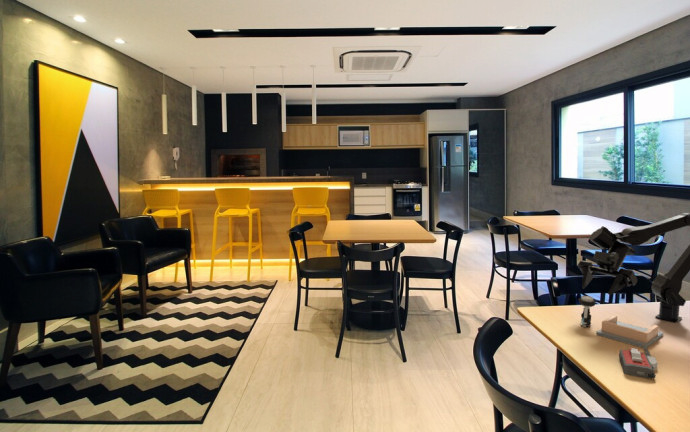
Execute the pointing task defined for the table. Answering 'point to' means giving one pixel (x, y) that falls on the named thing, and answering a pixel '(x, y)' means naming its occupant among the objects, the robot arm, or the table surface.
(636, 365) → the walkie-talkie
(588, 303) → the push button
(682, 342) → the table surface
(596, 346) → the table surface
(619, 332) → the end holder
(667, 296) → the robot arm
